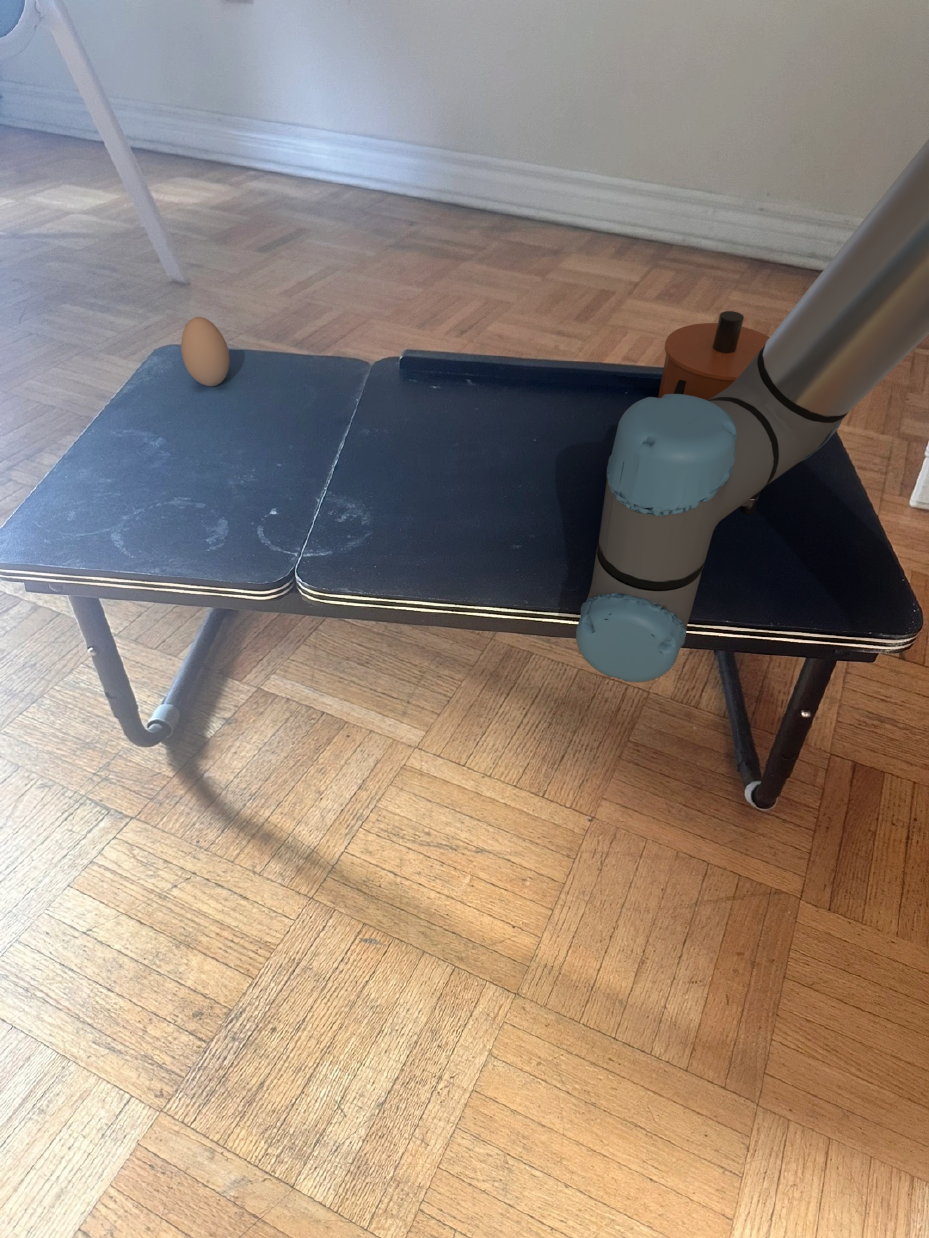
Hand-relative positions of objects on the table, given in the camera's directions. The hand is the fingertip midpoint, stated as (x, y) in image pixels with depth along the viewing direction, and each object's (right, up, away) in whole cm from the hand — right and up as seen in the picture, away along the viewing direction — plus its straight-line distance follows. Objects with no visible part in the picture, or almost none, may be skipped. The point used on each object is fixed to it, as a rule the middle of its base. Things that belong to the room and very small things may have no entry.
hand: (710, 398), depth 83 cm
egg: (-55, +6, +15) cm, 58 cm away
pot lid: (+2, +6, +3) cm, 7 cm away
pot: (+2, -1, +9) cm, 9 cm away
